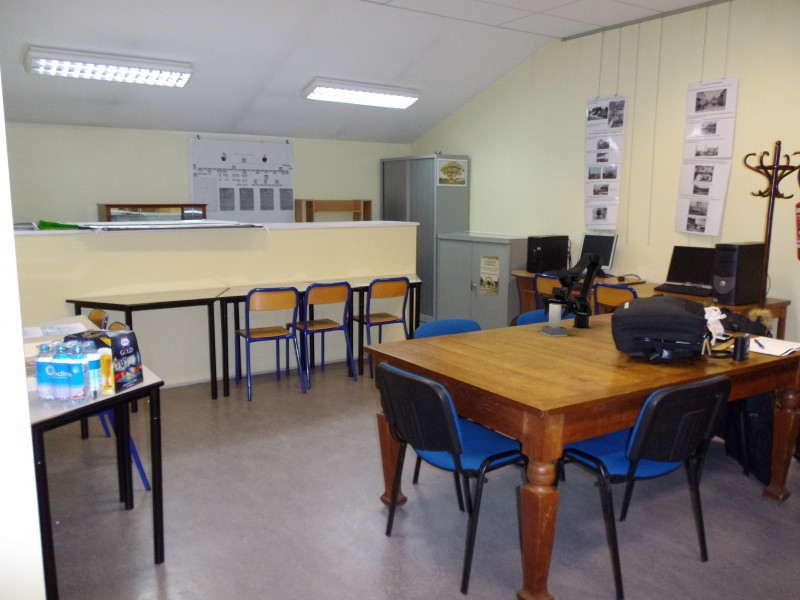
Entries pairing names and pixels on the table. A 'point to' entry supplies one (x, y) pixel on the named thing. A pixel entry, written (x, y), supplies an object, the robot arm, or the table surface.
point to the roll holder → (554, 331)
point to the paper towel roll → (555, 316)
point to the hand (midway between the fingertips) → (553, 316)
